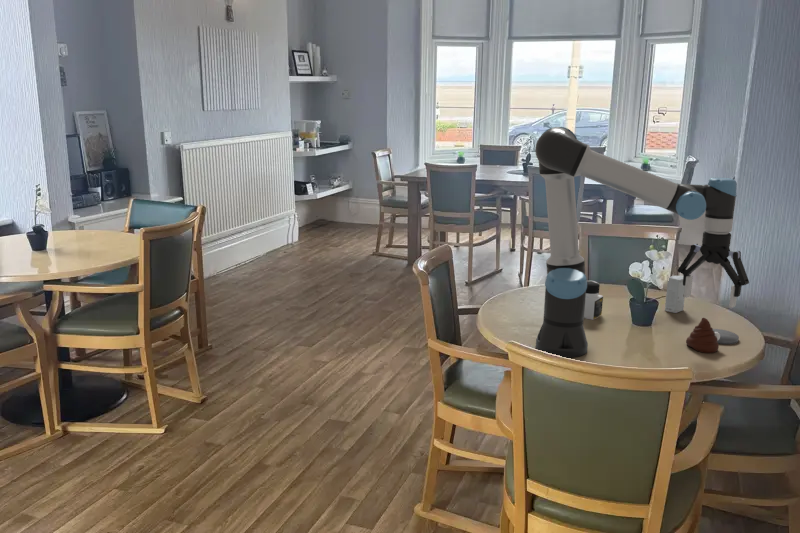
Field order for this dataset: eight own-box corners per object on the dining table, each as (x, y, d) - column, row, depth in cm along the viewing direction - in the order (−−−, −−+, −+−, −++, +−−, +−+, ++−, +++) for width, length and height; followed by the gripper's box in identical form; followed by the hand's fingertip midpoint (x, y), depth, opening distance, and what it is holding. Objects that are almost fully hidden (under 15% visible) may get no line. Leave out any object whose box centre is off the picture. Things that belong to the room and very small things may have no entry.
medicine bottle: (593, 320, 235) (596, 286, 232) (573, 316, 239) (576, 282, 236) (601, 315, 240) (604, 281, 237) (582, 311, 245) (584, 278, 242)
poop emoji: (679, 343, 215) (683, 314, 213) (703, 341, 217) (707, 312, 215) (700, 355, 206) (704, 325, 203) (725, 352, 208) (729, 323, 205)
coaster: (728, 347, 212) (729, 343, 212) (693, 337, 220) (694, 333, 220) (744, 338, 219) (744, 335, 219) (710, 329, 227) (710, 326, 227)
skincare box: (676, 313, 243) (679, 280, 240) (663, 310, 246) (667, 277, 243) (683, 309, 247) (687, 276, 244) (671, 307, 250) (675, 274, 247)
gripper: (767, 236, 196) (757, 308, 201) (682, 223, 214) (675, 290, 219) (756, 240, 191) (746, 313, 196) (670, 227, 209) (663, 294, 214)
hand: (709, 301), depth 208 cm, fingers open, 13 cm apart
